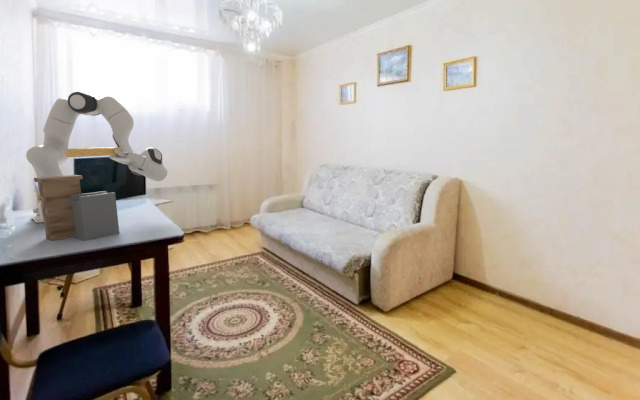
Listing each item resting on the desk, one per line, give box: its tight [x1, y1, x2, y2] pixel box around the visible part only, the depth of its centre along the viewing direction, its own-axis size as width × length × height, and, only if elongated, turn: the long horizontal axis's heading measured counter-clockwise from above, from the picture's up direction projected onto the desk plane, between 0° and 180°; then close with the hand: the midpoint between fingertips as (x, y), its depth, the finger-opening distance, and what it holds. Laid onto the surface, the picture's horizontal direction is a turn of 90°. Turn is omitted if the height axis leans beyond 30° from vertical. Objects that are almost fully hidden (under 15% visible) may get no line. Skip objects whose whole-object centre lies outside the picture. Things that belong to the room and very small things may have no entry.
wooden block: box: [65, 146, 121, 158], centre depth 159 cm, size 22×4×4 cm, turn 147°
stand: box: [33, 174, 84, 241], centre depth 151 cm, size 7×15×26 cm, turn 147°
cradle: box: [71, 190, 120, 241], centre depth 152 cm, size 8×14×18 cm, turn 148°
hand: (111, 150), depth 165 cm, fingers closed on wooden block, 3 cm apart
